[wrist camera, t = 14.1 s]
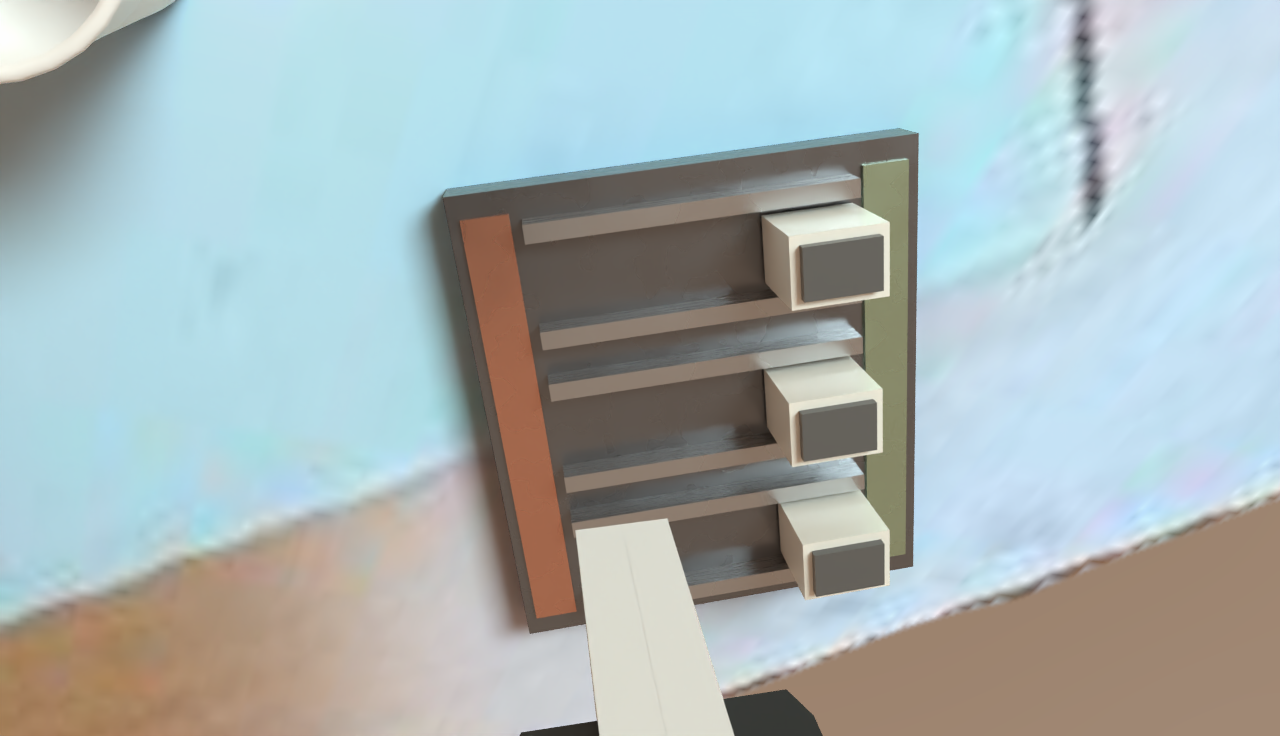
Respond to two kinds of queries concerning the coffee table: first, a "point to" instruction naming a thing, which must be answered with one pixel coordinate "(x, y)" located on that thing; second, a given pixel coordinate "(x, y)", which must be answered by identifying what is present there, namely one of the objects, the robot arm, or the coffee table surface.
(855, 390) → the block
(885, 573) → the block
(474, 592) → the coffee table surface
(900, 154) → the panel
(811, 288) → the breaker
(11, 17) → the cup
